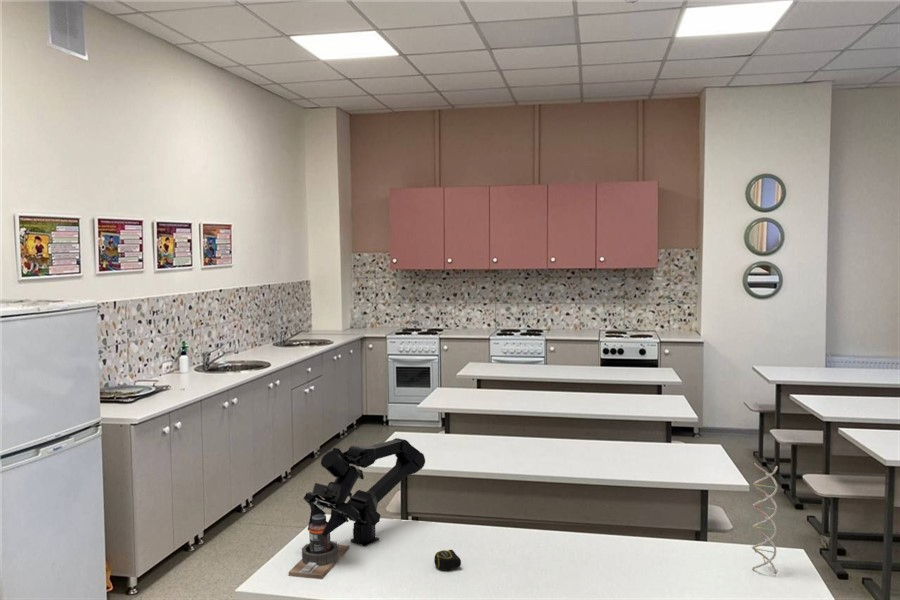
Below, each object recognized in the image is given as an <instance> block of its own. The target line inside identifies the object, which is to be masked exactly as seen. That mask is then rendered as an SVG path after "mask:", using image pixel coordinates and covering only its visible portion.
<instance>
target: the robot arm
mask: <svg viewBox="0 0 900 600" xmlns="http://www.w3.org/2000/svg"><path fill="white" fill-rule="evenodd" d="M393 455H394V457H396V460H395V461H396V462H395V465H394V466H393V467H392V468H391V469H390V470H389V471H387V472H386V473H385V474H384V475H383V476H382V477H380V479H379V480H377V481H376V483H375V484H373V486H371V487H370V488H369V489H368V490H367V491H364V490H361V489H358V490H356V491H355V492H354V494H353V493H352V490H353V487H354V486H355V484H356V482H357V480H358V479H359V480H364V478H365V476H364V474H363V472H364V471H363V470H362V469H360V468H364V469H366V468H368V467H370V466H372V465H374V463H375V462H376V461H377V460H378V459H379V460H380V459H382V458H386V457H390V456H393ZM425 464H426V457H425V455H424V453H422V452H421V451H419V449H417V448H415V446H413V445H412V444H411V443H410V442H409V441H408V440H407V439H403V438H397V437H396V438H393V439H392V440H387V441H384V442H380V443H377V444H371V445H351V446H350V447H349V448H348V449H347V450H346V451H344V452H342V450H341V449H340V448H338V447H333V449H332V450H330V451H328V452H326V453H325V454H324V455H323V456H322V458H321V460H320V465H321V467H322V468H323V469H325V470H326V471H327V472H328V473H329V474H330V475H331V476H333V477H334V478H335V480H334V481H330V482H329V483H328V484H323V483H319V482H314V484H313V485H314V486H313V490H312V492H311V491H309V492H306V493H305V495H304V497H303V500H304V501H305V503H307V504H308V505H309V508H310V516H309V521H308V527H307V531H309V526H310V524H311V523H312V517H313V516H314V515H317V514H324V515H326V512H325V511H324V509H325V508H326V509H329V510H330V518H329V520H328V521H327V522H328V523H327V525H326V527H325V529H324V531H323V534H322V535H323V536H324V537H325V536H327V535H328V534H329V533H330V534H331V533H332V532H334V531H335V530H336V529H338V528H339V527H340V526H342V525H344V524H345V523H349V521H352V522H353V529H352V538H351V539H350V542H351V543H354V544H357V545H360V546H363V547H366V546H369V545H371V544H373V543H375V542H377V541H379V540H380V537H377V536H376V525H377V524H379V522H380V520H381V514H380V513H379V512H378V511H377V510H378V505H379V502H381V501H382V500H383V499H384V498H385V497H386V496H387V495H388V494H389V493H390V492H391V491H392V490H393V489H395V487H396V486H398V484H400V482H401V481H403V479H405V477H407V476H410V475H414V474H416V473H418V472H419V471H421V470H422V469H423V468H424V466H425ZM356 467H360V468H356ZM347 498H349V499H348V501H347V502H346V500H347Z"/></svg>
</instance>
